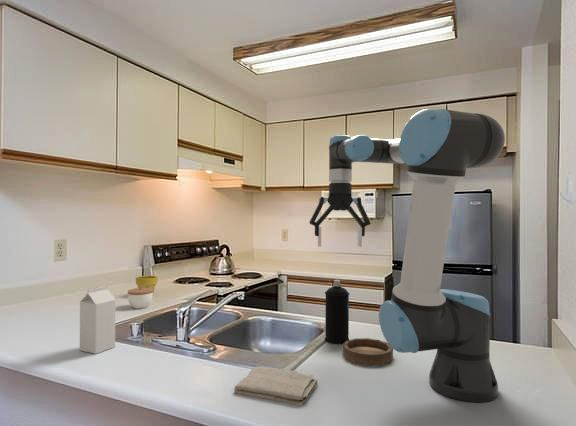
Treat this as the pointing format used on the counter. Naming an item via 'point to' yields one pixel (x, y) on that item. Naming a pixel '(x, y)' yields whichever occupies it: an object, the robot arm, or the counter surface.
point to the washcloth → (277, 385)
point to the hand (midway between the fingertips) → (339, 246)
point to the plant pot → (147, 282)
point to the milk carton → (97, 321)
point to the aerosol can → (337, 314)
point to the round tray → (367, 351)
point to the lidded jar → (140, 297)
